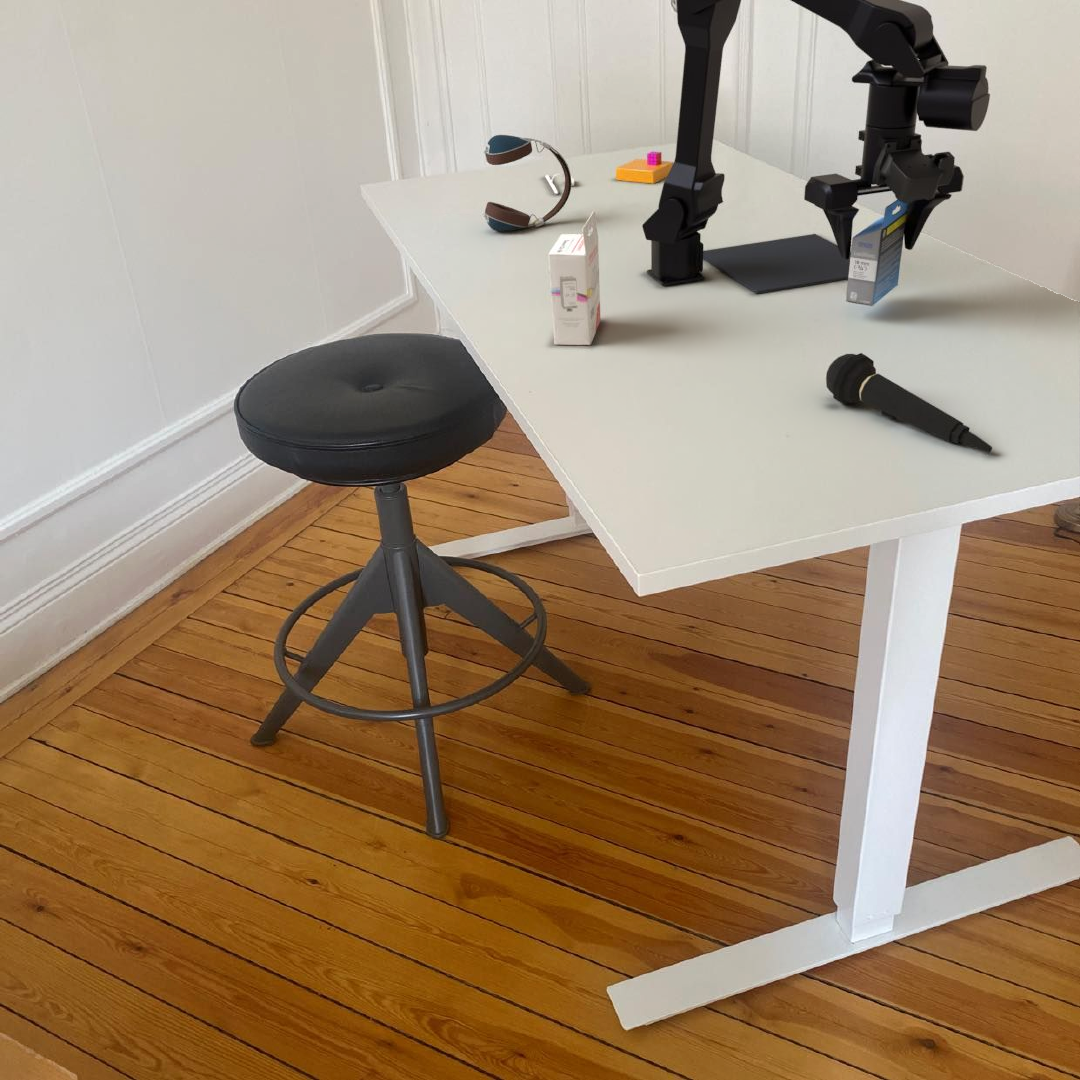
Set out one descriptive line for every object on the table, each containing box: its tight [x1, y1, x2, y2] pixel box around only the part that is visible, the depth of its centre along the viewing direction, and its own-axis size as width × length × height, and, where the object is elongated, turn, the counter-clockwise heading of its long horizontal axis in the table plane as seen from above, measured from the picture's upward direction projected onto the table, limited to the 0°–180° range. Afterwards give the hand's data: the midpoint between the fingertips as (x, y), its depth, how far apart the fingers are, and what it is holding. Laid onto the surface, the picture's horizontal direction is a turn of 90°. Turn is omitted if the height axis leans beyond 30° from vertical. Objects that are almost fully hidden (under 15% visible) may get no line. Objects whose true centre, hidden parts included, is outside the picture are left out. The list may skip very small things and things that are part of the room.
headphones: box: [483, 134, 572, 232], centre depth 181 cm, size 6×15×22 cm
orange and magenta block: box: [615, 151, 674, 185], centre depth 209 cm, size 8×8×4 cm
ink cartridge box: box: [547, 210, 601, 346], centre depth 139 cm, size 9×5×15 cm, turn 168°
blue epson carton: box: [845, 198, 909, 307], centre depth 139 cm, size 9×4×12 cm, turn 145°
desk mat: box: [703, 233, 851, 295], centre depth 162 cm, size 20×20×1 cm
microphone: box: [825, 352, 993, 454], centre depth 115 cm, size 6×6×20 cm
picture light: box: [545, 173, 575, 195], centre depth 208 cm, size 14×4×2 cm, turn 8°
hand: (876, 254), depth 140 cm, fingers closed on blue epson carton, 9 cm apart
